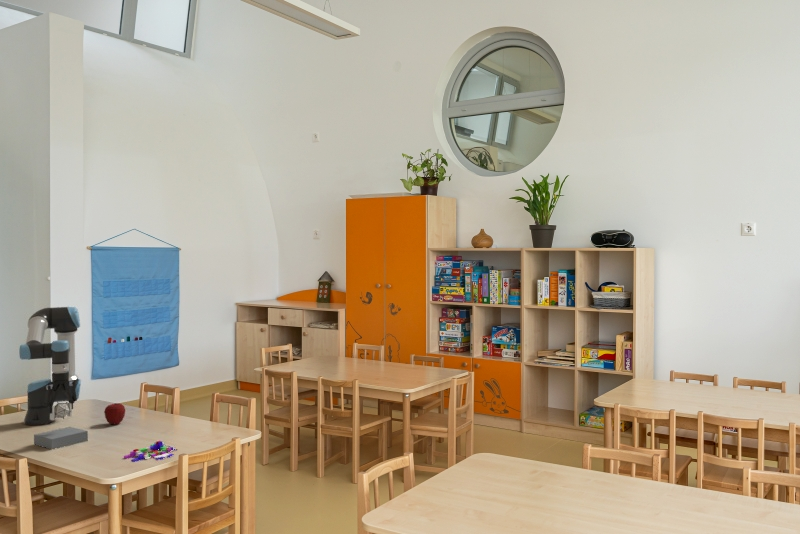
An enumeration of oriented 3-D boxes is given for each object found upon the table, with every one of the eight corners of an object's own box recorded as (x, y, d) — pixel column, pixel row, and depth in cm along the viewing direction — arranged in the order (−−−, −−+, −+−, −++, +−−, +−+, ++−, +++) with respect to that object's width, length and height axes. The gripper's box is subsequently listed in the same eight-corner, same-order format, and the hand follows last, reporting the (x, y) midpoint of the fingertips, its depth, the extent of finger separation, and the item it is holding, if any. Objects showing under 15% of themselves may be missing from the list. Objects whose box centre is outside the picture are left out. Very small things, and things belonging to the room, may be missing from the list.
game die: (65, 425, 324) (78, 407, 326) (55, 423, 316) (69, 405, 318) (52, 415, 326) (66, 398, 328) (42, 412, 318) (56, 395, 320)
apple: (109, 421, 365) (109, 400, 365) (128, 421, 365) (128, 400, 365) (100, 426, 354) (100, 405, 354) (120, 426, 354) (120, 404, 354)
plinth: (34, 444, 319) (33, 434, 319) (69, 436, 334) (69, 426, 334) (51, 449, 310) (51, 439, 310) (87, 440, 325) (87, 430, 325)
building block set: (143, 465, 286) (143, 455, 286) (118, 457, 298) (117, 448, 298) (192, 452, 306) (191, 442, 306) (166, 445, 319) (166, 436, 319)
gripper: (43, 375, 311) (43, 423, 311) (84, 369, 329) (85, 414, 329) (35, 374, 315) (35, 421, 315) (76, 368, 333) (76, 413, 333)
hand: (60, 417), depth 322 cm, fingers closed on game die, 8 cm apart
